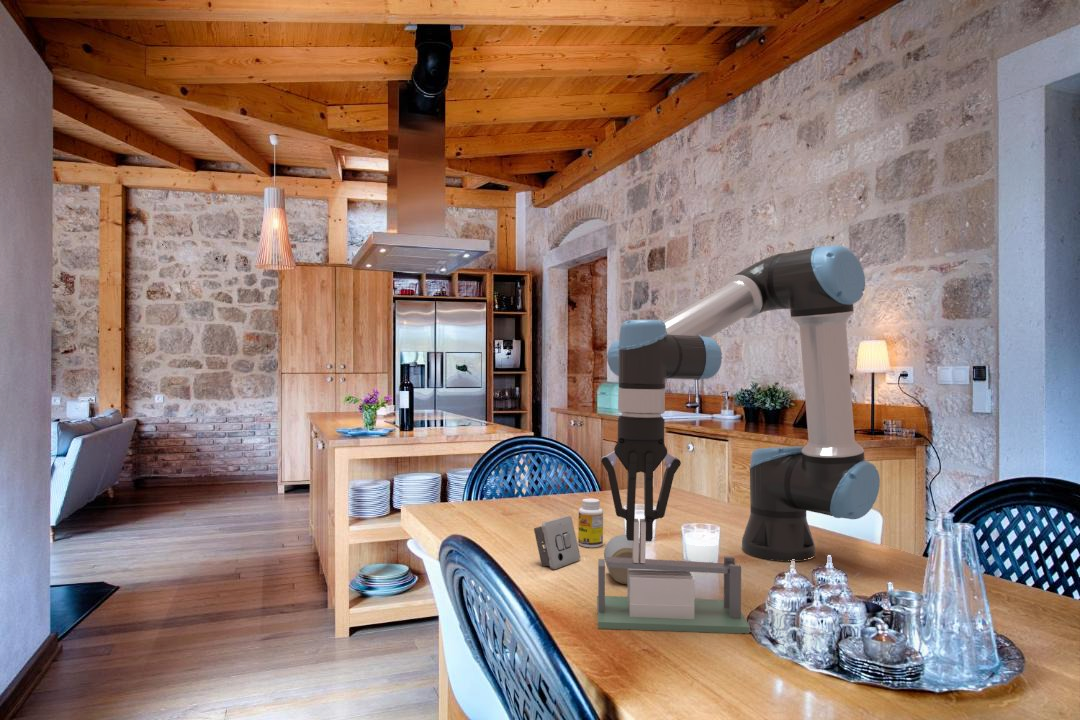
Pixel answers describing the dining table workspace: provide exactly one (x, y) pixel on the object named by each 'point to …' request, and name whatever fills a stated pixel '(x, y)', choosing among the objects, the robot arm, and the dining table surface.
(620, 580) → the ceramic mug
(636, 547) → the robot arm
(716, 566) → the grey retaining bar
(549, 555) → the electrical switch
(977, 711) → the dining table surface
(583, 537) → the supplement bottle
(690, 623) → the base
